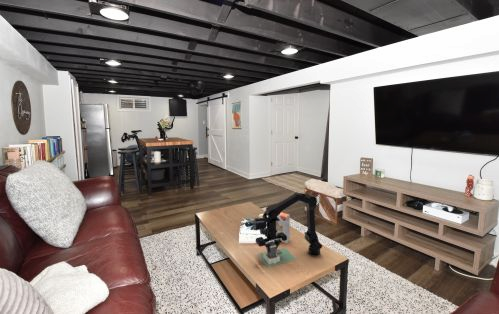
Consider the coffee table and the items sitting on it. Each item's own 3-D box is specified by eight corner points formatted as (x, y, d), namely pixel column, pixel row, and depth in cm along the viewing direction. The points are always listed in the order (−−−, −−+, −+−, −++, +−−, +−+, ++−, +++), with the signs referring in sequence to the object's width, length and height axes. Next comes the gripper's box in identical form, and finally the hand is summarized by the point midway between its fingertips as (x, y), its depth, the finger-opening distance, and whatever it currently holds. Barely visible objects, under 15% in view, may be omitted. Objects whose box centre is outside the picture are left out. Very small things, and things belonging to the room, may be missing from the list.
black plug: (273, 253, 146) (272, 241, 145) (276, 256, 143) (276, 244, 141) (267, 254, 145) (266, 242, 144) (270, 258, 141) (270, 245, 140)
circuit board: (284, 249, 157) (284, 244, 156) (296, 260, 144) (296, 255, 143) (257, 256, 149) (257, 251, 149) (267, 269, 137) (267, 263, 136)
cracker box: (268, 239, 170) (268, 212, 166) (273, 236, 174) (273, 209, 171) (285, 246, 161) (285, 217, 158) (289, 242, 166) (290, 214, 162)
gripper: (278, 219, 152) (278, 242, 154) (251, 225, 145) (252, 249, 147) (287, 226, 142) (287, 251, 144) (259, 233, 135) (259, 258, 137)
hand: (271, 252), depth 143 cm, fingers closed on black plug, 4 cm apart
